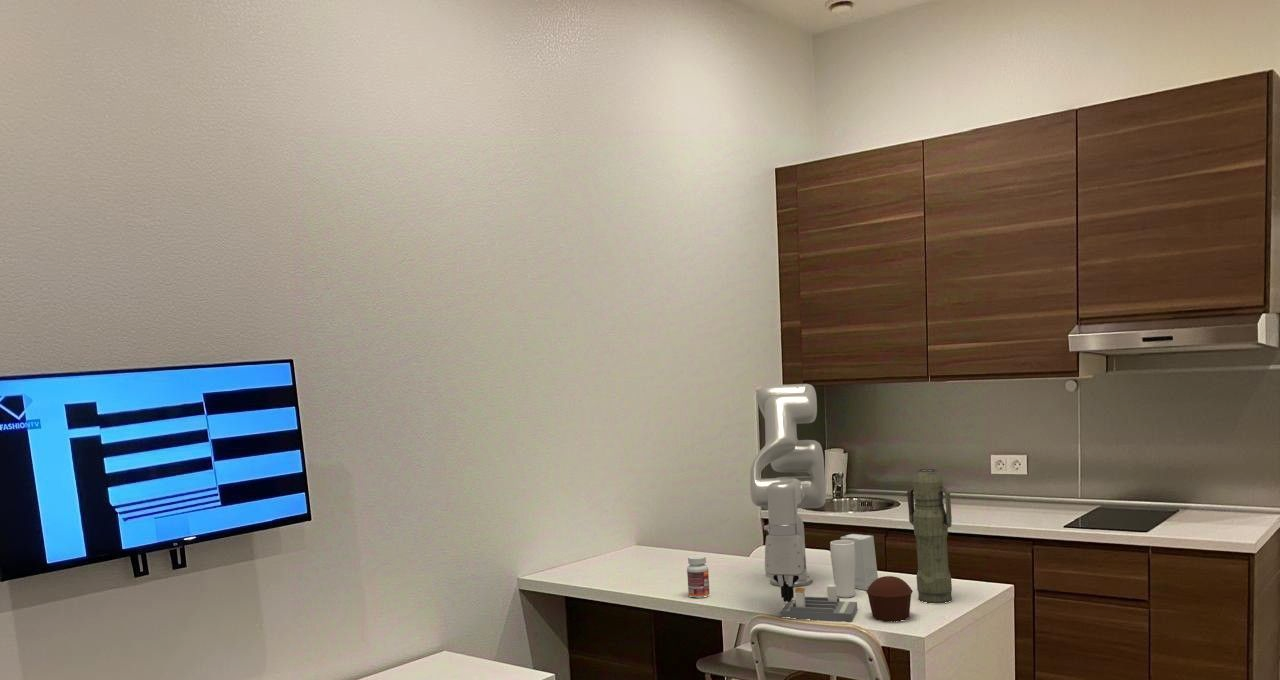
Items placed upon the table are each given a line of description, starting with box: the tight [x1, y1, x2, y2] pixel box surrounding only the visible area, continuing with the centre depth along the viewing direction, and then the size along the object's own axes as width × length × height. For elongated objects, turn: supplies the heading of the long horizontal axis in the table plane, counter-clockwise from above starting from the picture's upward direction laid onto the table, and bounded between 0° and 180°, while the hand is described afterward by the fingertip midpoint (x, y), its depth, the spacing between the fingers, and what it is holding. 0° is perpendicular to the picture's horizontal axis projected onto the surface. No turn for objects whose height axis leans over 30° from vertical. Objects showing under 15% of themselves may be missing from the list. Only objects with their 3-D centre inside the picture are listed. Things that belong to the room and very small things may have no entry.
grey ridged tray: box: [780, 583, 858, 623], centre depth 239 cm, size 12×18×7 cm, turn 70°
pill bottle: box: [686, 554, 711, 598], centre depth 265 cm, size 6×6×11 cm
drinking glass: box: [829, 539, 856, 599], centre depth 257 cm, size 7×7×15 cm
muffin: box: [865, 575, 913, 623], centre depth 233 cm, size 12×11×10 cm
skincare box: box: [839, 533, 879, 591], centre depth 266 cm, size 8×6×15 cm
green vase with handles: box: [906, 468, 953, 604], centre depth 248 cm, size 9×12×35 cm
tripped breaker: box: [794, 587, 806, 607], centre depth 237 cm, size 2×2×5 cm
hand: (787, 600), depth 239 cm, fingers closed
